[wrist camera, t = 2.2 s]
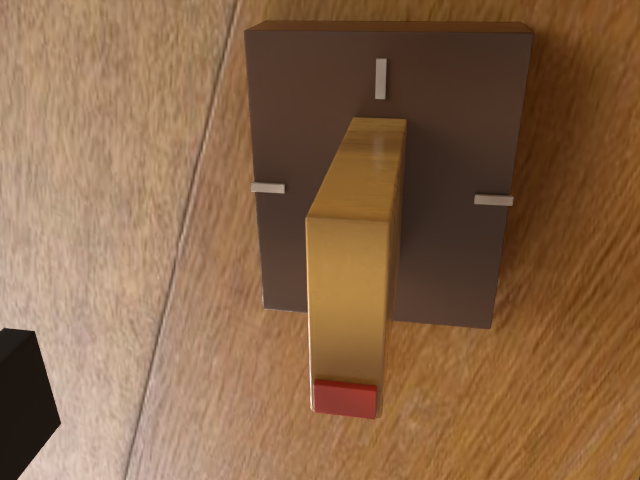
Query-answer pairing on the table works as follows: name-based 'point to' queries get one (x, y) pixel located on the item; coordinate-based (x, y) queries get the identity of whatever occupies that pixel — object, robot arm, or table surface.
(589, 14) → the table surface
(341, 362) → the handle
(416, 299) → the plate
